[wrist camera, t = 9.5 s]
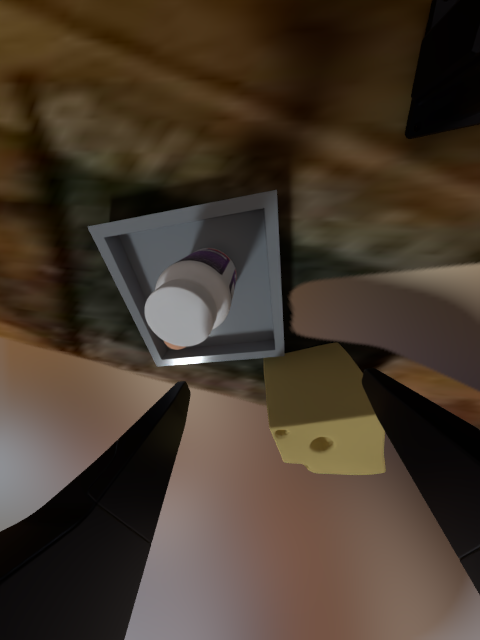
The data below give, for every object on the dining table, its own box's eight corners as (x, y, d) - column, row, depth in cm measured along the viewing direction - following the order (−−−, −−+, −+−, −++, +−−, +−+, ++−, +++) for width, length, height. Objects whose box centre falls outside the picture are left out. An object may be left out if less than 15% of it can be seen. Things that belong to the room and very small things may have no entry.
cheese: (276, 403, 29) (286, 481, 20) (259, 352, 24) (264, 427, 16) (344, 393, 27) (388, 475, 18) (341, 336, 22) (398, 410, 14)
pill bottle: (175, 265, 19) (110, 303, 10) (217, 235, 17) (184, 250, 8) (206, 307, 21) (174, 367, 12) (246, 283, 19) (243, 334, 11)
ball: (191, 315, 21) (181, 329, 18) (198, 337, 23) (190, 354, 20) (165, 318, 22) (153, 333, 19) (174, 340, 23) (164, 356, 20)
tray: (273, 194, 16) (276, 189, 13) (281, 342, 23) (284, 356, 21) (108, 225, 18) (87, 226, 15) (165, 353, 25) (157, 366, 23)
